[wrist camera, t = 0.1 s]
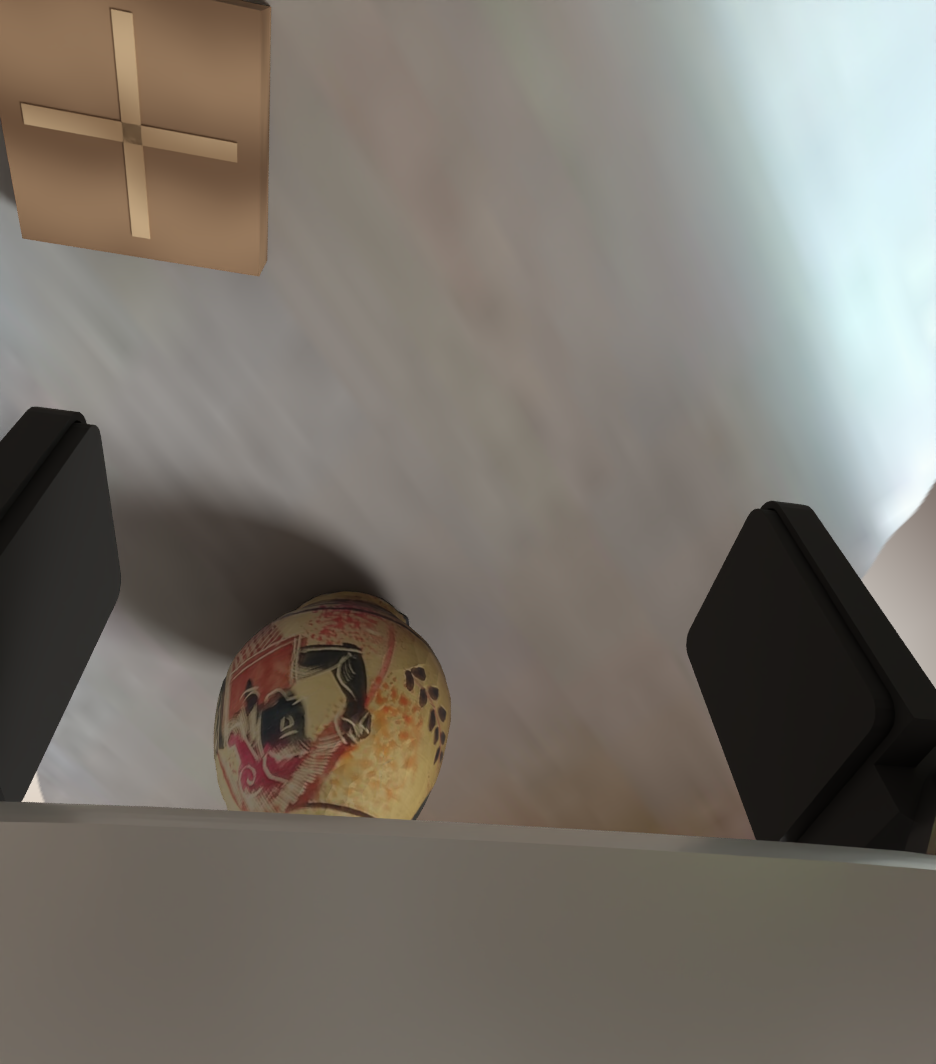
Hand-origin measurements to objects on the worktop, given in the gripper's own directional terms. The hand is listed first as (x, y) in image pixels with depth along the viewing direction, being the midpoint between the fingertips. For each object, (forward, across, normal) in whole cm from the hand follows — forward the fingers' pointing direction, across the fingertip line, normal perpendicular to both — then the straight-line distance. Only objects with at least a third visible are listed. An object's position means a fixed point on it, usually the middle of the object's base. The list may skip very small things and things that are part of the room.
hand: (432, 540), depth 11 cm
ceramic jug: (+31, +2, +35) cm, 47 cm away
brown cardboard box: (+31, +13, +2) cm, 34 cm away
